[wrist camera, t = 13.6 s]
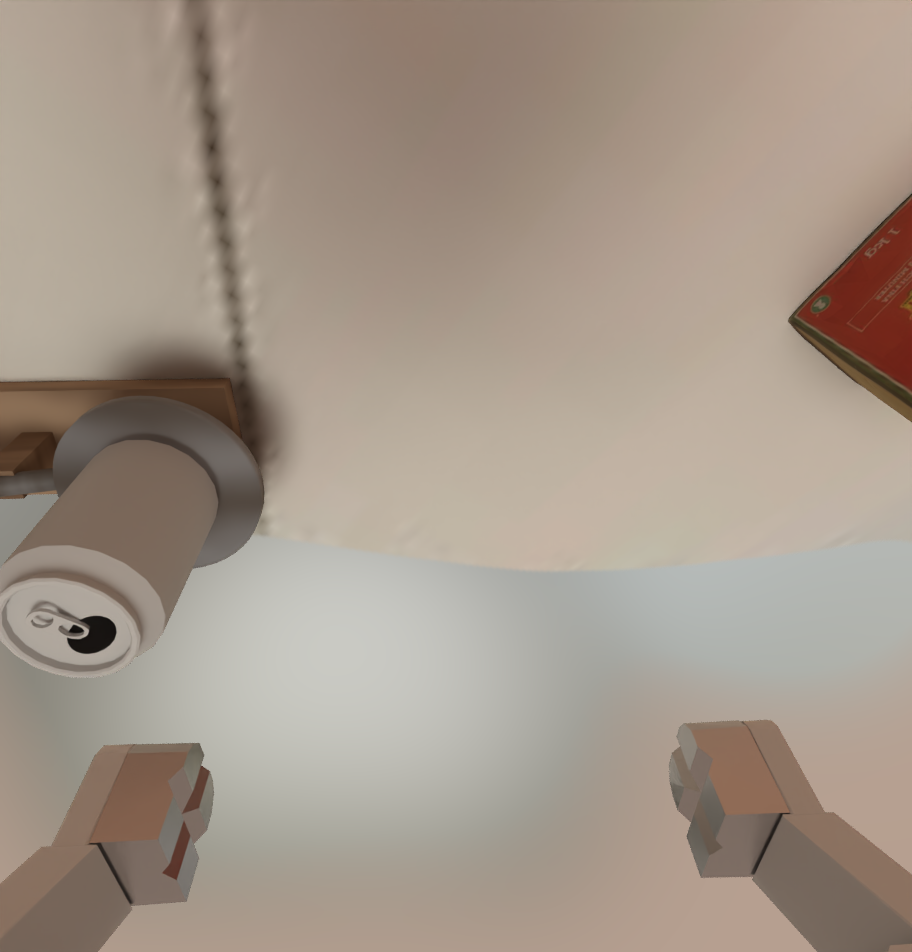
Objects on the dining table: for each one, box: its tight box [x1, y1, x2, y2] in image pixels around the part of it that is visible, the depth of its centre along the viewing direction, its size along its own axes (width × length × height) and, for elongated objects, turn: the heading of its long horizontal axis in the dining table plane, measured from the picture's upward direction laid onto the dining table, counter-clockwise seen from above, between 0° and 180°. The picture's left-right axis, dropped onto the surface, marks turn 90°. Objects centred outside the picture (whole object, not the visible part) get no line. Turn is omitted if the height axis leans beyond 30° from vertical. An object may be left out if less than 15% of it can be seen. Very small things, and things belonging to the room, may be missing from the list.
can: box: [0, 440, 218, 678], centre depth 34 cm, size 8×8×12 cm
